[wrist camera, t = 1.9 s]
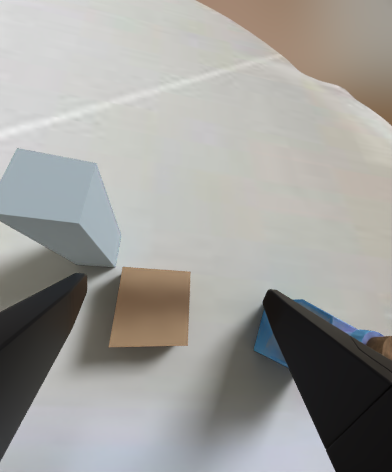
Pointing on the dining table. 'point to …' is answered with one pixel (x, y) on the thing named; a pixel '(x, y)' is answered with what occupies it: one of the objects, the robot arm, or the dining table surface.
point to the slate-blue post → (60, 207)
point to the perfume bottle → (372, 339)
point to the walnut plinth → (151, 308)
